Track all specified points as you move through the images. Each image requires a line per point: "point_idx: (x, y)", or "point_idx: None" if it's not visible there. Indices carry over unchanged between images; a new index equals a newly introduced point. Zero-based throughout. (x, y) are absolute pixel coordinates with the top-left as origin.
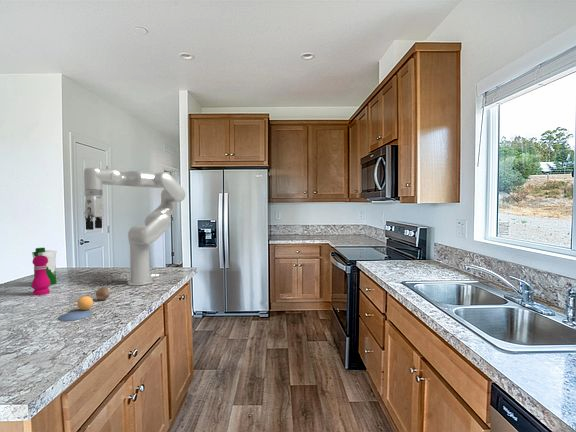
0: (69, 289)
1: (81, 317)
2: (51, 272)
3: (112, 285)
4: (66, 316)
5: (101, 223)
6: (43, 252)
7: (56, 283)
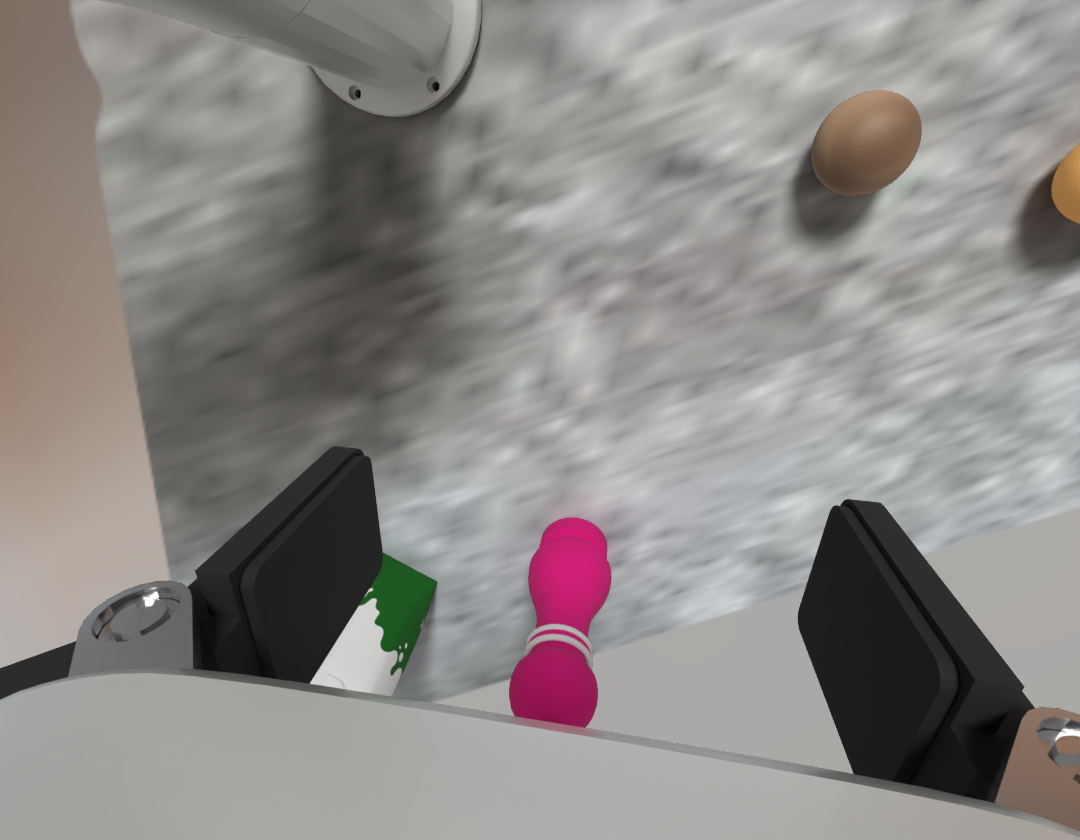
0: (512, 449)
1: None
2: (379, 607)
3: (446, 224)
4: None
5: (295, 514)
6: None
7: None
